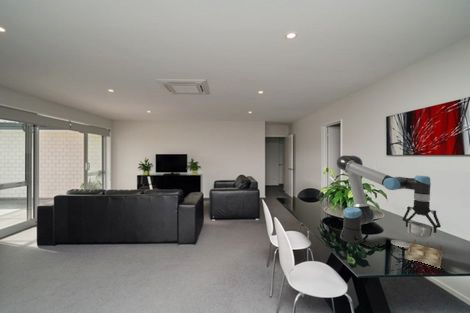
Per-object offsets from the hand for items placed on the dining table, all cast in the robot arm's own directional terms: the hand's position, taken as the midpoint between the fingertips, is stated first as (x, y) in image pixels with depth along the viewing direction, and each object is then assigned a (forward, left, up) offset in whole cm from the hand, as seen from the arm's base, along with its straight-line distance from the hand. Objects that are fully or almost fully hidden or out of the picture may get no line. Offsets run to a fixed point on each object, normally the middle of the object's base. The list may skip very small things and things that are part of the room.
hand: (420, 234), depth 135 cm
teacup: (0, 0, -2) cm, 2 cm away
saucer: (-12, +16, -15) cm, 24 cm away
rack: (+2, 0, -14) cm, 14 cm away
